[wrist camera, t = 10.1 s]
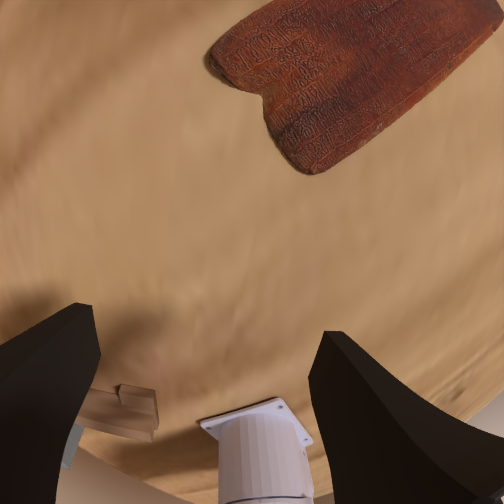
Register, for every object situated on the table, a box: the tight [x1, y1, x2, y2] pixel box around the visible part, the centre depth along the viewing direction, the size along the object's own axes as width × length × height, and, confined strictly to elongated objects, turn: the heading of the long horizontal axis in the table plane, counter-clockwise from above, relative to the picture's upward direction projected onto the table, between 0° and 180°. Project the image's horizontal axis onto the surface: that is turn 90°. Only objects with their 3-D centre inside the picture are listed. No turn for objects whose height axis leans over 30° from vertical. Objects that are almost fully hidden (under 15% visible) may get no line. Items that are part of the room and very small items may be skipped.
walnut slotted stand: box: [74, 384, 159, 443], centre depth 20 cm, size 18×5×4 cm, turn 82°
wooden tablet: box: [209, 0, 504, 174], centre depth 12 cm, size 27×10×2 cm, turn 131°
